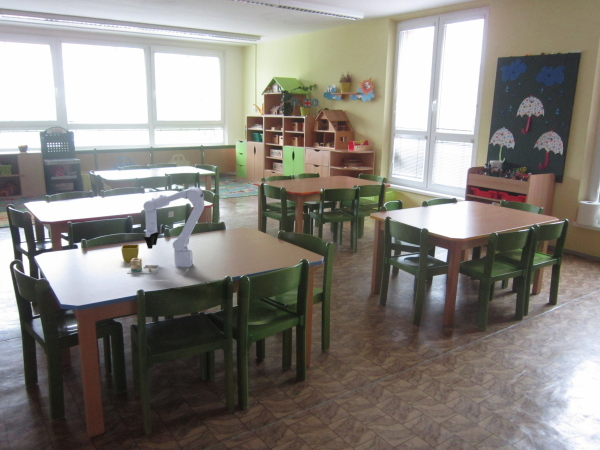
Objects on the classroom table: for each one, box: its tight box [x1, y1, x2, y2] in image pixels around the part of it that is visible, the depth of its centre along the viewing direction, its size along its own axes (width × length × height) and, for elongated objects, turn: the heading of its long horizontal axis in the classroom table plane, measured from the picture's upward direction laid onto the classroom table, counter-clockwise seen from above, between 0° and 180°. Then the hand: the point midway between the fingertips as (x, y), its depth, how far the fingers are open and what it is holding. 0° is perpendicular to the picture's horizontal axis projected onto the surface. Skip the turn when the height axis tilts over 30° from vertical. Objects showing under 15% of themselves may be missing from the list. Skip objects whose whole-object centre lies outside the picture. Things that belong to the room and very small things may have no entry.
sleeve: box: [130, 257, 143, 272], centre depth 251 cm, size 4×4×6 cm
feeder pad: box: [142, 264, 160, 269], centre depth 259 cm, size 7×6×1 cm
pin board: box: [127, 264, 160, 275], centre depth 251 cm, size 14×8×4 cm, turn 90°
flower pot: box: [120, 243, 140, 264], centre depth 268 cm, size 9×9×9 cm
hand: (152, 246), depth 264 cm, fingers open, 7 cm apart
